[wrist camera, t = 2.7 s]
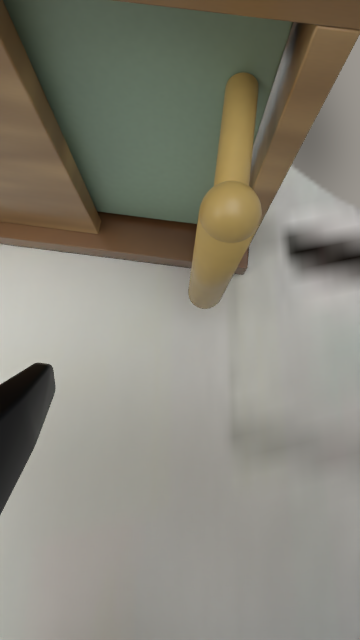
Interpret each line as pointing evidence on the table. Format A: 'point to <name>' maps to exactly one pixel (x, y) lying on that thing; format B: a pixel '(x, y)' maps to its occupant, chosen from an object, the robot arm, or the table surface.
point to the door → (161, 114)
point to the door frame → (139, 232)
